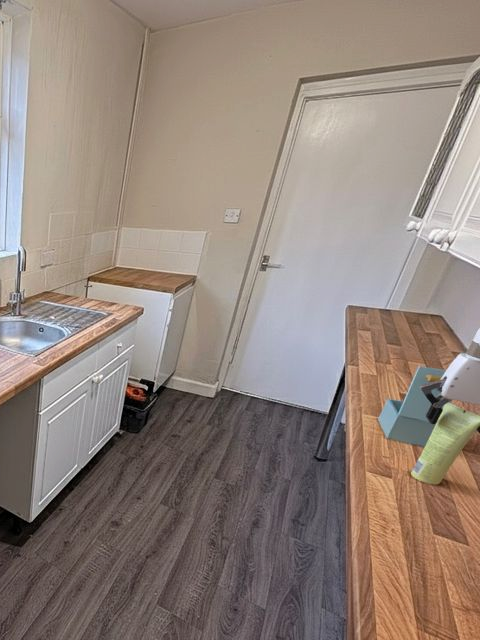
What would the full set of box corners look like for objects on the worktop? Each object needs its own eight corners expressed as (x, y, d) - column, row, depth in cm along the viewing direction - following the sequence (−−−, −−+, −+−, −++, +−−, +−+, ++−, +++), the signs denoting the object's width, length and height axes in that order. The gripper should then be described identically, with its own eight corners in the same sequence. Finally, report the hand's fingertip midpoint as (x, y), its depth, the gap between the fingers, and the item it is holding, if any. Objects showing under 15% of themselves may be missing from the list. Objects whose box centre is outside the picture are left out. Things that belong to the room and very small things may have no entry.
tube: (442, 480, 99) (483, 409, 91) (443, 490, 96) (485, 417, 88) (409, 470, 103) (446, 401, 95) (409, 479, 100) (447, 408, 92)
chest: (377, 420, 126) (387, 398, 123) (414, 428, 122) (425, 405, 119) (386, 439, 116) (397, 416, 113) (427, 449, 112) (439, 425, 109)
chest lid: (418, 365, 109) (424, 370, 105) (463, 373, 104) (471, 377, 100) (397, 414, 113) (403, 420, 109) (440, 423, 109) (447, 429, 105)
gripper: (550, 356, 85) (504, 430, 92) (431, 341, 94) (398, 409, 101) (570, 368, 79) (520, 446, 86) (441, 350, 88) (406, 422, 95)
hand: (454, 426), depth 93 cm, fingers open, 7 cm apart
